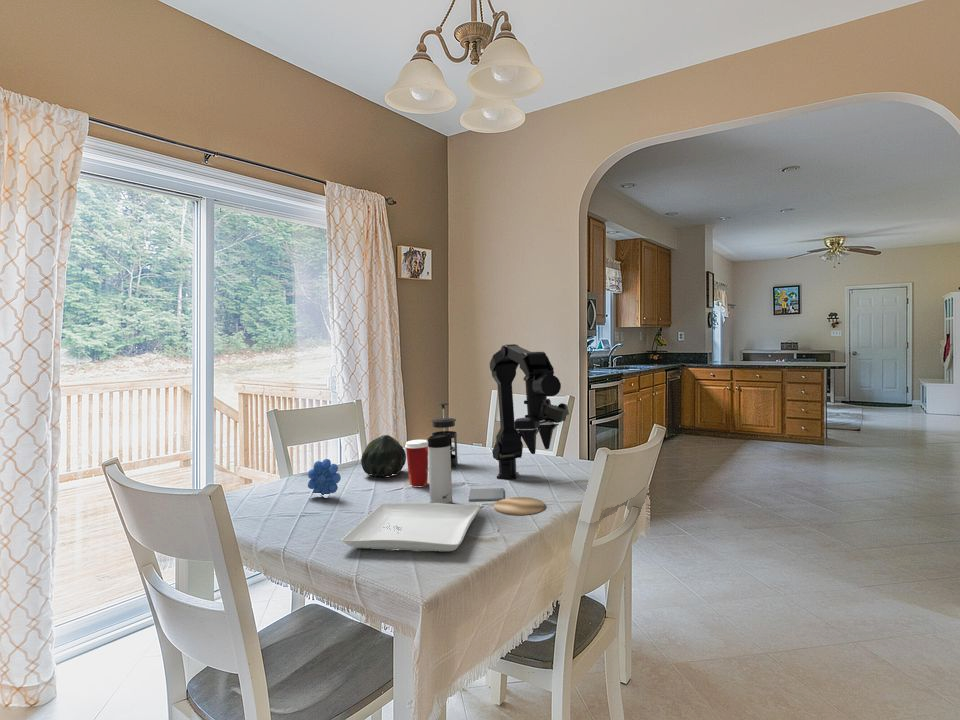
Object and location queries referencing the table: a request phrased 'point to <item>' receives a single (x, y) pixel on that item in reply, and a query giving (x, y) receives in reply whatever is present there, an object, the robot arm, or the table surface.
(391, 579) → the table surface
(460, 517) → the square plate
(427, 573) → the table surface
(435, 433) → the french press
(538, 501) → the cork trivet
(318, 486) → the blue lobed thick disc
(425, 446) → the paper cup
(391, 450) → the squash
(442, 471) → the travel mug
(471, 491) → the stone coaster
